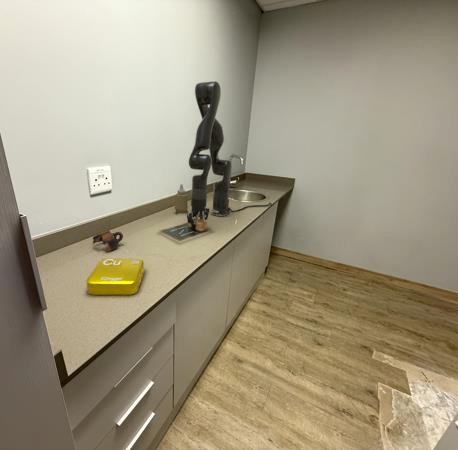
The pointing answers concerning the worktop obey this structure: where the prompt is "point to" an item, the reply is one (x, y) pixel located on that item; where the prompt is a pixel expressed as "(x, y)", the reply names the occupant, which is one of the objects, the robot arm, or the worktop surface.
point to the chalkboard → (181, 232)
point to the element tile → (116, 277)
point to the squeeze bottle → (181, 201)
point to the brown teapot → (108, 239)
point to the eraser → (200, 225)
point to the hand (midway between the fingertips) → (197, 229)
